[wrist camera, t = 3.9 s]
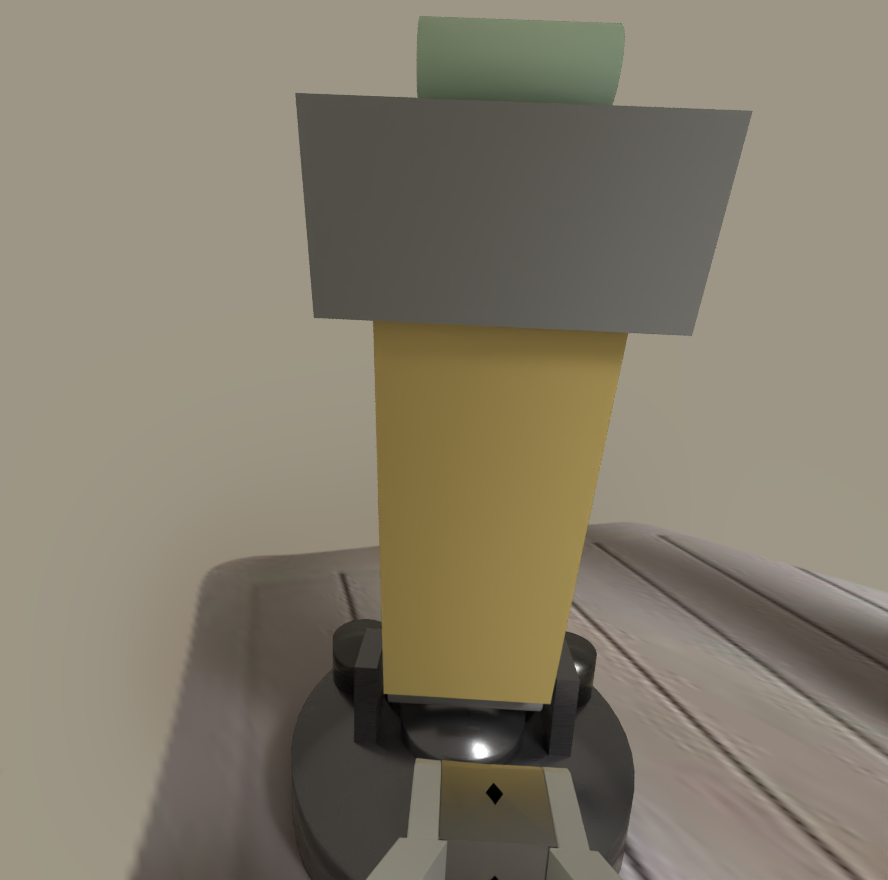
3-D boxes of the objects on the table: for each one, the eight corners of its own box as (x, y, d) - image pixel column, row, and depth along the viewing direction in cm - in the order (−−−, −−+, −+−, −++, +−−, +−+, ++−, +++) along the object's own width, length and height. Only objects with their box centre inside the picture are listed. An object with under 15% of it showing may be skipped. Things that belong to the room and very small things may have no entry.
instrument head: (377, 608, 30) (359, 52, 17) (551, 618, 30) (655, 62, 17) (349, 745, 23) (285, -25, 10) (577, 760, 22) (784, -8, 10)
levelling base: (337, 662, 34) (337, 565, 32) (581, 677, 34) (593, 579, 32) (232, 954, 18) (222, 793, 17) (687, 987, 18) (720, 826, 16)
